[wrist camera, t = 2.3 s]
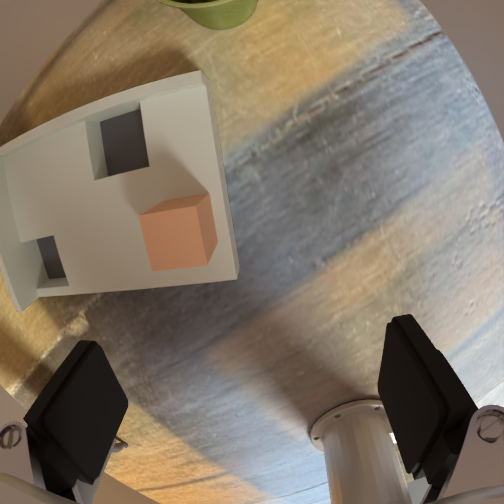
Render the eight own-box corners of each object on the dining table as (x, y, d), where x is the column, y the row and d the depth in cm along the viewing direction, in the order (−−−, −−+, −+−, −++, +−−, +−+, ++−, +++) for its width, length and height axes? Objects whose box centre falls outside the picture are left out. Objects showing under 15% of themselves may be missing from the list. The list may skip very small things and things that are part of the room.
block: (209, 193, 23) (195, 205, 19) (218, 241, 25) (207, 265, 20) (162, 201, 24) (138, 215, 19) (172, 247, 25) (152, 271, 20)
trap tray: (210, 82, 23) (194, 63, 17) (239, 265, 28) (233, 299, 22) (14, 150, 25) (-25, 156, 19) (47, 286, 30) (16, 311, 24)
